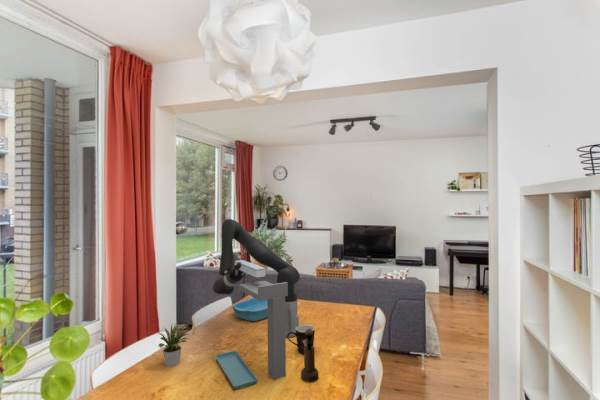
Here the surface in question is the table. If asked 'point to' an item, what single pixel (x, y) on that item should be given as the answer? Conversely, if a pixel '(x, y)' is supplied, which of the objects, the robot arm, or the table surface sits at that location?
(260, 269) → the grey rectangular box
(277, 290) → the grey gallows post
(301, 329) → the coffee mug
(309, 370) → the mortar and pestle
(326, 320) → the table surface
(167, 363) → the house plant
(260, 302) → the casserole dish
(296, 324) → the robot arm
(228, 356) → the teal serving tray
